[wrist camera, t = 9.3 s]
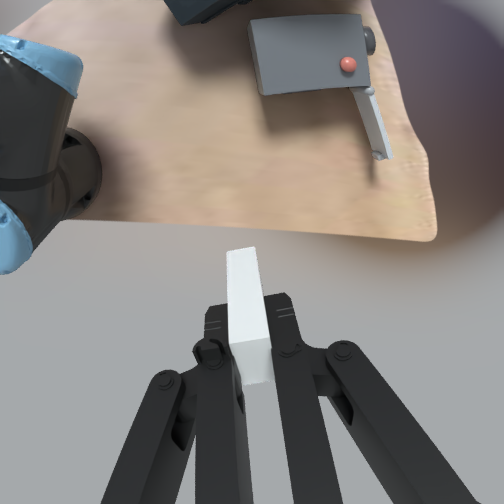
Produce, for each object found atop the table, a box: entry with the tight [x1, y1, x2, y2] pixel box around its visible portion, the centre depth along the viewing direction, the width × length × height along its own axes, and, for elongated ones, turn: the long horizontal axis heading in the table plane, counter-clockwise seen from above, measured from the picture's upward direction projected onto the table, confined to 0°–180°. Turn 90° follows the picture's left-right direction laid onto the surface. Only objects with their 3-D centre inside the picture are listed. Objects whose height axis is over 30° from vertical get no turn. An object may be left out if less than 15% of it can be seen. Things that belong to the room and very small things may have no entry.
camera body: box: [247, 14, 376, 96], centre depth 36 cm, size 16×10×8 cm, turn 100°
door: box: [349, 86, 393, 161], centre depth 41 cm, size 11×2×6 cm, turn 25°
